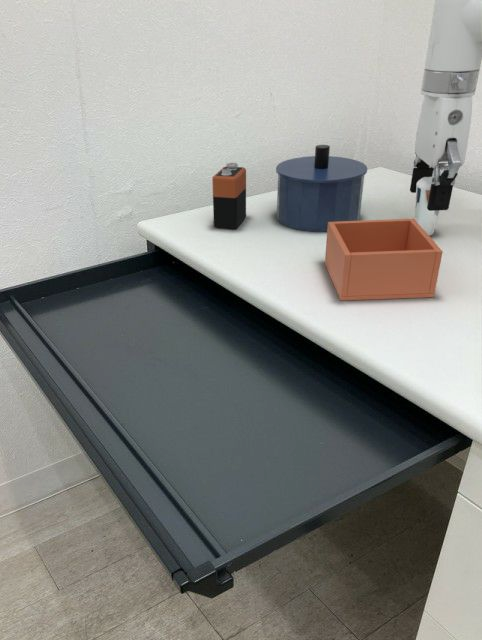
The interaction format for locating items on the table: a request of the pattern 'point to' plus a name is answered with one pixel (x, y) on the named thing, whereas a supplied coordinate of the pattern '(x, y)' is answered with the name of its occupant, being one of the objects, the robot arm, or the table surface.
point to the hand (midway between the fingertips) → (428, 200)
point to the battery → (229, 196)
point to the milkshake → (425, 206)
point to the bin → (381, 259)
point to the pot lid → (321, 168)
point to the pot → (318, 203)
